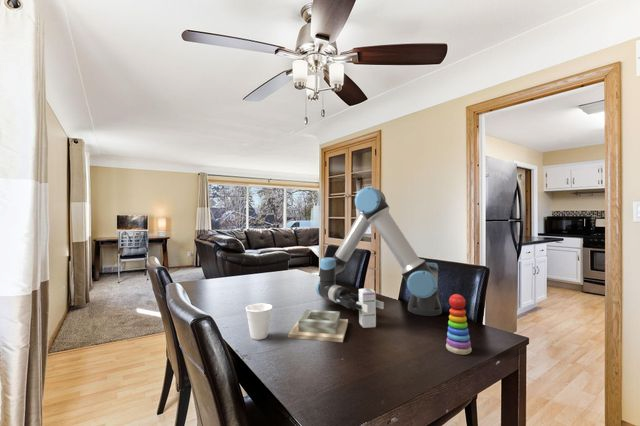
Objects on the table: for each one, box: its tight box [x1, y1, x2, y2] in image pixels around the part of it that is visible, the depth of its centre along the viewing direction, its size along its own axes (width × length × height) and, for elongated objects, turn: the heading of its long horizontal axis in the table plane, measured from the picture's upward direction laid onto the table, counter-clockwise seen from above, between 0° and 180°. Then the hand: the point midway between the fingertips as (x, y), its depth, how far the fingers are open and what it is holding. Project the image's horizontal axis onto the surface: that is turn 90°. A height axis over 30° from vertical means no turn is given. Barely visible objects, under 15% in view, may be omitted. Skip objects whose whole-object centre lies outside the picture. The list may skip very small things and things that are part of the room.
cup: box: [245, 303, 273, 341], centre depth 116 cm, size 10×10×11 cm
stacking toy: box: [445, 293, 473, 355], centre depth 105 cm, size 8×8×19 cm
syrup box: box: [358, 287, 377, 329], centre depth 128 cm, size 6×6×14 cm
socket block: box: [287, 309, 349, 343], centre depth 123 cm, size 20×20×6 cm
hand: (375, 307), depth 124 cm, fingers open, 8 cm apart
